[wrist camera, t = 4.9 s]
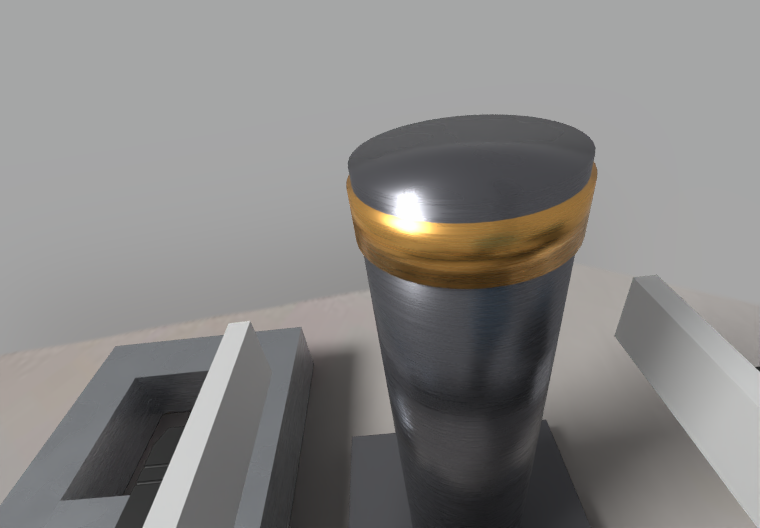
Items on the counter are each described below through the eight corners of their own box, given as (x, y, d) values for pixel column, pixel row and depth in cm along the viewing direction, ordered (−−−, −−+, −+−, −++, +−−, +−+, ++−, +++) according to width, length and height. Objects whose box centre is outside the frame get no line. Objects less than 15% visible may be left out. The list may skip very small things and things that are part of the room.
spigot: (503, 456, 18) (542, 103, 9) (538, 579, 14) (667, 179, 5) (405, 464, 18) (348, 129, 9) (413, 586, 15) (332, 219, 6)
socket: (313, 364, 26) (301, 327, 24) (279, 593, 16) (252, 563, 14) (141, 381, 26) (115, 346, 24) (5, 612, 16) (-59, 585, 14)
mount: (543, 430, 20) (546, 419, 19) (628, 642, 13) (635, 634, 13) (355, 447, 21) (352, 436, 20) (348, 657, 14) (343, 652, 13)
